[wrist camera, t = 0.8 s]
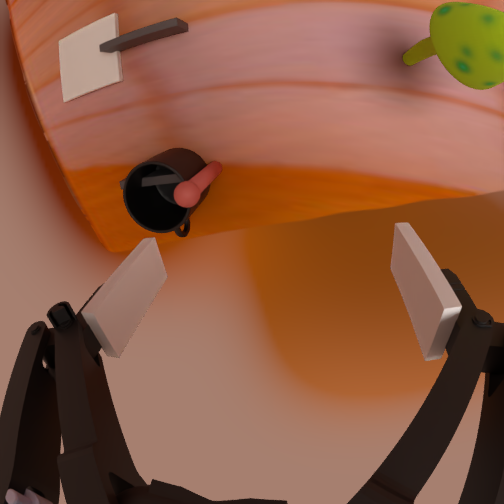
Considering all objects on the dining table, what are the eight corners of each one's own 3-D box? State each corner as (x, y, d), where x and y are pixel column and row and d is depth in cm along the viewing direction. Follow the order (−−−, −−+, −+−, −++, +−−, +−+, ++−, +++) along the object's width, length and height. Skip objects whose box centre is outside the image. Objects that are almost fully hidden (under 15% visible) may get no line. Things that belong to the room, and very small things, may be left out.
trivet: (62, 41, 30) (58, 40, 30) (117, 13, 28) (114, 12, 27) (67, 101, 36) (63, 102, 35) (123, 80, 34) (119, 80, 33)
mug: (170, 227, 46) (146, 256, 38) (144, 158, 41) (112, 174, 33) (224, 216, 44) (208, 244, 36) (200, 139, 38) (176, 151, 30)
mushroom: (369, 64, 29) (473, 27, 8) (394, 20, 25) (499, -43, 4) (420, 100, 30) (552, 125, 9) (443, 56, 26) (574, 48, 4)
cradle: (114, 46, 31) (56, 40, 20) (208, 19, 29) (170, -9, 18) (135, 186, 43) (86, 219, 31) (226, 176, 40) (197, 210, 29)
